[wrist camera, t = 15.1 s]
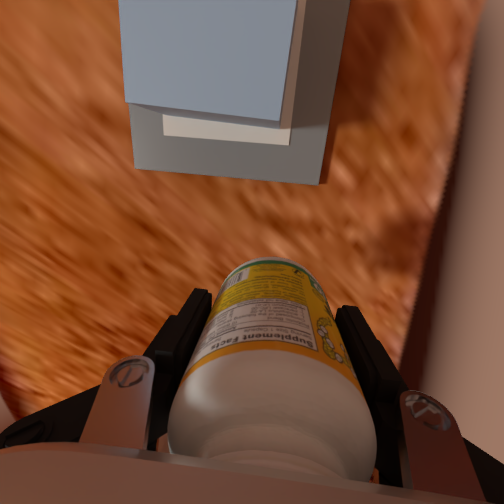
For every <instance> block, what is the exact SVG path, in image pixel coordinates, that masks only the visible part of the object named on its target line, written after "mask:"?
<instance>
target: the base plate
mask: <svg viewBox="0 0 504 504" xmlns="http://www.w3.org/2000/svg"><path fill="white" fill-rule="evenodd" d="M349 5H350V0H298V8H297V15H296V22H295V29H294V35H293V42H292V49H291V56H290V63H289V70H288V77H287V83H286V90H285V97H284V104H283V111H282V118H281V125H280V129H272V128H264V127H256V126H248V125H240V124H232V123H224V122H216V121H208V120H200V119H192V118H184V117H176V116H168V115H164V114H161V113H158V112H155V111H151V110H148V109H145V108H142V107H139V106H136V105H133V104H130V103H129V113H130V123H131V134H132V144H133V154H134V164H135V169H146V170H157V171H168V172H178V173H189V174H200V175H211V176H222V177H233V178H244V179H255V180H266V181H277V182H288V183H299V184H310V185H318V184H319V178H320V172H321V167H322V161H323V155H324V149H325V144H326V138H327V132H328V126H329V121H330V115H331V109H332V103H333V97H334V92H335V86H336V80H337V74H338V69H339V63H340V57H341V51H342V46H343V40H344V34H345V28H346V22H347V17H348V11H349Z"/></svg>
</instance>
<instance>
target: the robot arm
mask: <svg viewBox="0 0 504 504" xmlns="http://www.w3.org/2000/svg"><path fill="white" fill-rule="evenodd" d="M211 308H212V294H211V293H208V290H206V289H198V288H195V289H194V290H193V292H192V293H191V295H190V296H189V298H188V299H187V301H186V302H185V304H184V306H183V307H182V309H181V310H180V312H179V313H178V315H177V316H176V315H171V316H169V318H168V319H167V320H166V322H165V323H164V325H163V326H162V328H161V329H160V331H159V332H158V334H157V335H156V336H155V338H154V339H153V341H152V342H151V344H150V345H149V347H148V348H147V350H146V351H145V352H144V354H143V355H142V356H130V357H126V358H123V359H121V360H119V361H117V362H116V363H114V364H113V365H112V366H111V367H110V368H109V369H108V370H107V371H106V373H105V375H104V377H103V380H102V382H101V384H100V385H98V386H95V387H93V388H91V389H89V390H86V391H84V392H82V393H79V394H77V395H75V396H72V397H70V398H68V399H65V400H63V401H61V402H58V403H56V404H54V405H52V406H49V407H47V408H45V409H42V410H40V411H38V412H35V413H33V414H31V415H28V416H26V417H24V418H22V419H20V420H18V421H16V422H15V423H13V424H12V425H10V426H9V427H8V428H6V429H5V430H4V431H3V432H2V433H1V434H0V504H504V464H502V463H501V462H499V461H498V460H496V459H495V458H493V457H492V456H490V455H489V454H487V453H486V452H484V451H483V450H481V449H480V448H478V447H477V446H475V445H474V444H472V443H471V442H469V441H468V440H466V439H465V438H463V437H462V435H461V433H460V430H459V427H458V425H457V423H456V420H455V418H454V417H453V415H452V414H451V412H450V411H449V410H448V409H447V408H446V407H445V406H444V405H443V404H441V403H440V402H439V401H437V400H436V399H434V398H433V397H431V396H429V395H427V394H424V393H422V392H418V391H410V390H409V389H408V387H407V385H406V384H405V382H404V381H403V379H402V377H401V375H400V374H399V372H398V370H397V369H396V367H395V365H394V364H393V362H392V360H391V359H390V357H389V355H388V354H387V352H386V350H385V349H384V347H383V345H382V344H381V342H380V341H379V340H377V339H376V337H375V335H374V334H373V332H372V330H371V329H370V327H369V325H368V324H367V322H366V320H365V318H364V317H363V315H362V313H361V312H360V310H359V308H358V307H356V306H348V305H343V306H342V308H338V309H337V313H336V317H335V323H336V325H337V327H338V330H339V333H340V335H341V338H342V341H343V343H344V346H345V348H346V351H347V353H348V356H349V358H350V361H351V364H352V366H353V369H354V372H355V374H356V377H357V379H358V382H359V384H360V387H361V389H362V392H363V395H364V397H365V400H366V403H367V405H368V408H369V410H370V413H371V417H372V420H373V423H374V427H375V433H376V439H377V452H376V461H375V465H374V483H368V482H361V481H355V480H348V479H342V478H335V477H328V476H322V475H315V474H308V473H302V472H295V471H288V470H281V469H275V468H268V467H261V466H254V465H247V464H241V463H234V462H227V461H220V460H213V459H206V458H199V457H192V456H184V455H177V454H170V450H169V445H168V420H169V413H170V410H171V406H172V403H173V400H174V398H175V395H176V393H177V390H178V387H179V385H180V382H181V380H182V378H183V375H184V373H185V371H186V369H187V366H188V364H189V361H190V359H191V357H192V354H193V352H194V350H195V347H196V345H197V343H198V340H199V338H200V336H201V333H202V331H203V329H204V326H205V324H206V321H207V319H208V317H209V314H210V312H211Z"/></svg>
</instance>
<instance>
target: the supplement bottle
mask: <svg viewBox="0 0 504 504" xmlns="http://www.w3.org/2000/svg"><path fill="white" fill-rule="evenodd" d="M168 445H169V450H170V454H177V455H184V456H192V457H199V458H206V459H213V460H220V461H227V462H234V463H241V464H247V465H254V466H261V467H268V468H275V469H281V470H288V471H295V472H302V473H308V474H315V475H322V476H328V477H335V478H342V479H348V480H355V481H361V482H369V480H370V478H371V476H372V473H373V469H374V465H375V461H376V452H377V439H376V433H375V427H374V423H373V420H372V417H371V413H370V410H369V408H368V405H367V403H366V400H365V397H364V395H363V392H362V389H361V387H360V384H359V382H358V379H357V377H356V374H355V372H354V369H353V366H352V364H351V361H350V358H349V356H348V353H347V351H346V348H345V346H344V343H343V341H342V338H341V335H340V333H339V330H338V327H337V325H336V323H335V320H334V317H333V315H332V312H331V310H330V307H329V304H328V302H327V299H326V296H325V294H324V292H323V290H322V288H321V286H320V284H319V283H318V282H317V280H316V279H315V278H314V277H313V275H312V274H311V273H310V272H309V271H308V270H307V269H306V268H304V267H303V266H301V265H300V264H298V263H296V262H294V261H292V260H289V259H285V258H280V257H262V258H256V259H253V260H250V261H248V262H246V263H244V264H242V265H240V266H239V267H237V268H236V269H235V270H234V271H232V272H231V273H230V275H229V276H228V277H227V278H226V280H225V281H224V283H223V285H222V287H221V289H220V291H219V293H218V295H217V298H216V300H215V302H214V305H213V307H212V310H211V312H210V314H209V317H208V319H207V321H206V324H205V326H204V329H203V331H202V333H201V336H200V338H199V340H198V343H197V345H196V347H195V350H194V352H193V354H192V357H191V359H190V361H189V364H188V366H187V369H186V371H185V373H184V375H183V378H182V380H181V382H180V385H179V387H178V390H177V393H176V395H175V398H174V400H173V403H172V406H171V410H170V413H169V420H168Z"/></svg>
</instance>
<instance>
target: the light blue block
mask: <svg viewBox="0 0 504 504" xmlns="http://www.w3.org/2000/svg"><path fill="white" fill-rule="evenodd" d="M297 8H298V0H119V15H120V30H121V45H122V60H123V76H124V91H125V102H126V103H130V104H133V105H136V106H139V107H142V108H145V109H148V110H151V111H155V112H158V113H161V114H164V115H168V116H176V117H184V118H192V119H200V120H208V121H216V122H224V123H232V124H240V125H248V126H256V127H264V128H272V129H280V125H281V118H282V111H283V104H284V97H285V90H286V83H287V77H288V70H289V63H290V56H291V49H292V42H293V35H294V29H295V22H296V15H297Z"/></svg>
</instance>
